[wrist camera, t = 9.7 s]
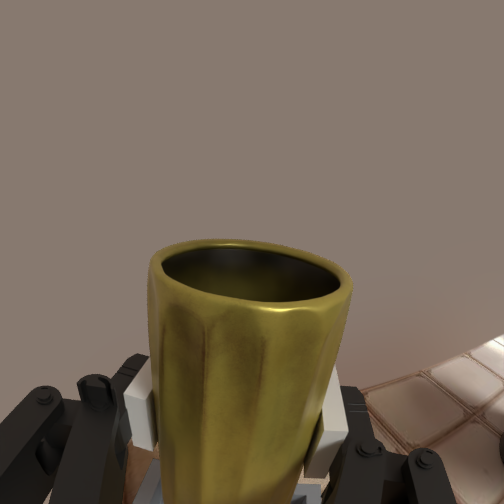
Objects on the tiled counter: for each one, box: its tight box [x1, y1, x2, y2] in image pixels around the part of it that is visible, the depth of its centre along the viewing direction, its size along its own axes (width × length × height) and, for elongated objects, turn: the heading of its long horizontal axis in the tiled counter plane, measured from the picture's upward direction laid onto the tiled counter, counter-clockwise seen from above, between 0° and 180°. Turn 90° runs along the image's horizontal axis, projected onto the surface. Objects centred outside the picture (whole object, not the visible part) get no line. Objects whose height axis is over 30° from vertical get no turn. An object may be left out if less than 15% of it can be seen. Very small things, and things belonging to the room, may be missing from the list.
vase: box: [147, 239, 353, 504], centre depth 10 cm, size 6×6×14 cm
